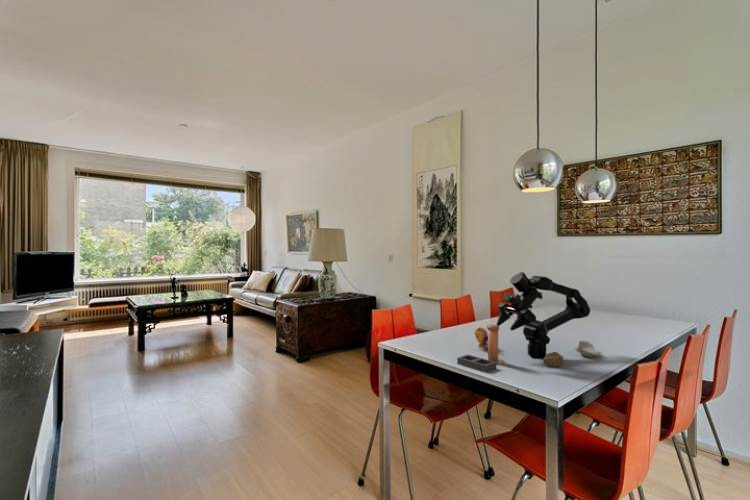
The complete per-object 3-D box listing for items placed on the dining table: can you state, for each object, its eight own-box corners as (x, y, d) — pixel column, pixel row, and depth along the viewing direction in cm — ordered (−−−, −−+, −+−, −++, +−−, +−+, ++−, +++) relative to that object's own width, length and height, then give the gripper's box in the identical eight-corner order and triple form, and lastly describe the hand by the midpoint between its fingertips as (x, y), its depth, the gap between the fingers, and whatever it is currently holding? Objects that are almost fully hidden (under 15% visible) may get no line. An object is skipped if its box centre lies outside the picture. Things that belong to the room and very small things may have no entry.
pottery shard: (584, 359, 150) (583, 347, 150) (565, 352, 161) (565, 341, 161) (606, 358, 152) (606, 346, 152) (586, 351, 163) (586, 339, 163)
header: (467, 360, 151) (467, 354, 151) (496, 368, 141) (496, 362, 141) (457, 363, 147) (457, 357, 147) (485, 372, 137) (485, 365, 137)
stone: (539, 358, 155) (541, 347, 155) (558, 364, 153) (560, 352, 153) (542, 365, 142) (544, 352, 142) (562, 371, 140) (565, 358, 140)
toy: (493, 340, 159) (481, 318, 170) (479, 345, 159) (468, 323, 171) (498, 356, 166) (486, 334, 177) (484, 361, 166) (473, 339, 177)
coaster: (501, 358, 153) (501, 357, 153) (506, 364, 145) (506, 363, 145) (482, 358, 154) (482, 357, 154) (486, 364, 146) (486, 363, 146)
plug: (497, 358, 152) (497, 324, 152) (500, 362, 147) (500, 327, 147) (485, 358, 152) (485, 324, 152) (489, 362, 147) (489, 327, 147)
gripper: (501, 284, 161) (479, 310, 158) (529, 289, 143) (505, 318, 140) (516, 301, 163) (495, 327, 161) (546, 307, 145) (523, 337, 143)
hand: (503, 327), depth 151 cm, fingers open, 9 cm apart
